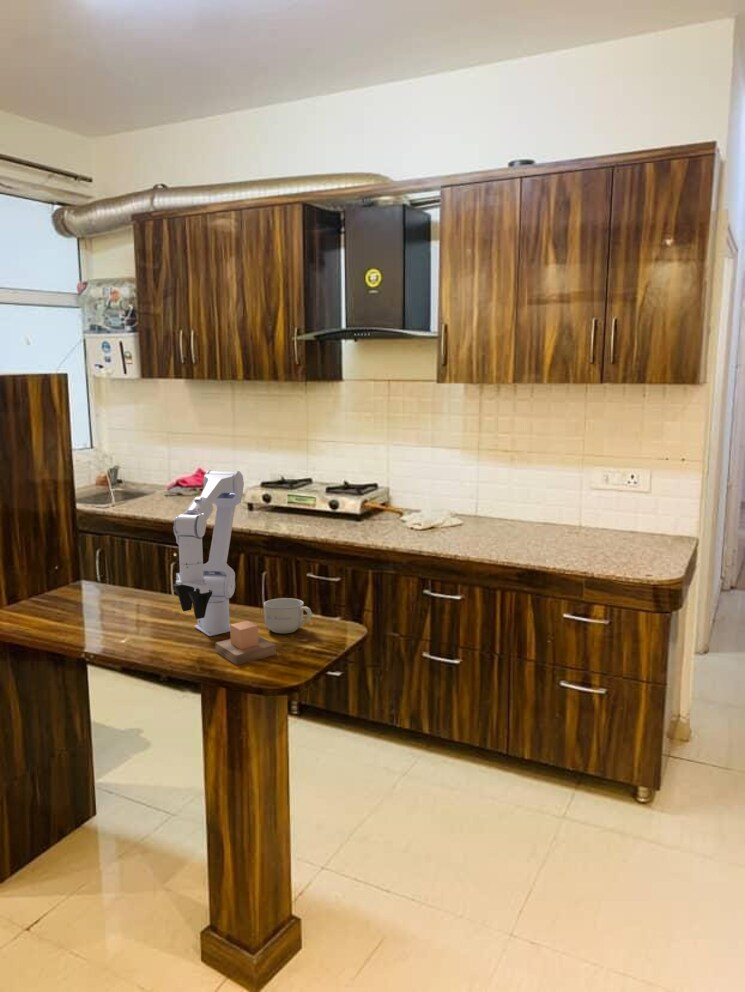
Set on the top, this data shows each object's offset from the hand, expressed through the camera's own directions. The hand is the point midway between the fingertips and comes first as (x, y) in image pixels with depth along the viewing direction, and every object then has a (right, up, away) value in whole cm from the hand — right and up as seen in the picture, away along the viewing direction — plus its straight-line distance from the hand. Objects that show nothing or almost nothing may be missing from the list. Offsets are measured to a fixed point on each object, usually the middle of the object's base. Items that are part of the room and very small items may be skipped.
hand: (193, 614), depth 190 cm
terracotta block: (+13, -7, -1) cm, 15 cm away
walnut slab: (+13, -10, -1) cm, 17 cm away
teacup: (+22, -7, +15) cm, 28 cm away
